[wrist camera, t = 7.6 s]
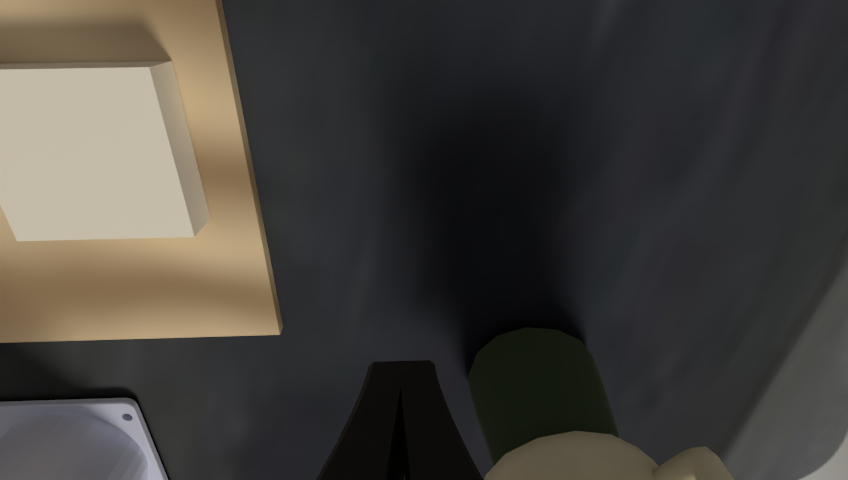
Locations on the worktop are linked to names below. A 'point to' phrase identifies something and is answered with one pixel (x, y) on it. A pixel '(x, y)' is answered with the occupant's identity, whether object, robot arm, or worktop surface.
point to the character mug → (561, 416)
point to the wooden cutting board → (145, 257)
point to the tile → (97, 152)
